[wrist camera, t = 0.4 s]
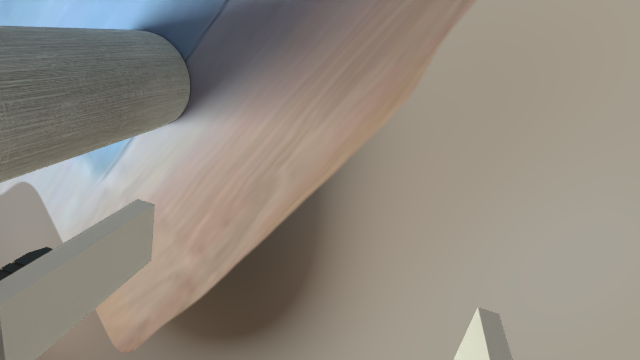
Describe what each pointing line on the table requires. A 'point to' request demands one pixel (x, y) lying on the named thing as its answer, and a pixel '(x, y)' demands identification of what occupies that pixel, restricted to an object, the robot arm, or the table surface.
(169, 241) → the table surface
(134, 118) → the vase
